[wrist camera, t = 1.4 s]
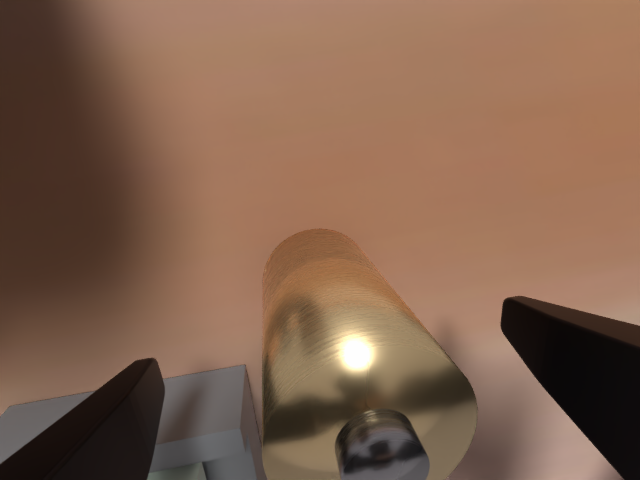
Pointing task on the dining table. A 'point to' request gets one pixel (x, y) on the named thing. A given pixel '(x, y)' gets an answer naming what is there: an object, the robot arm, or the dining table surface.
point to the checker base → (173, 425)
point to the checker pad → (180, 473)
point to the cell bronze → (353, 373)
